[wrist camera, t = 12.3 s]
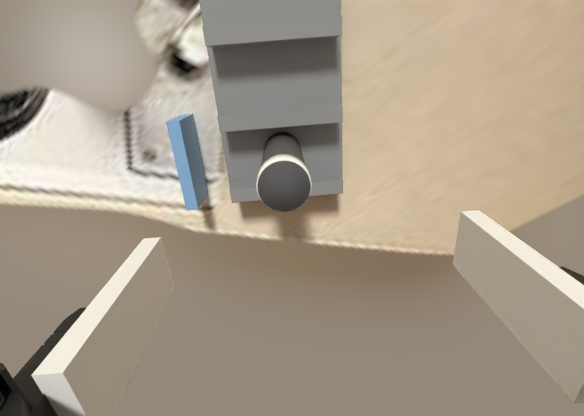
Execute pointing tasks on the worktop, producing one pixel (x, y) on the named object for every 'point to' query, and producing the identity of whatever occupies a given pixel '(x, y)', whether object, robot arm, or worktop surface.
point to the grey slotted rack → (277, 85)
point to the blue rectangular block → (188, 160)
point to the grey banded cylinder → (283, 174)
